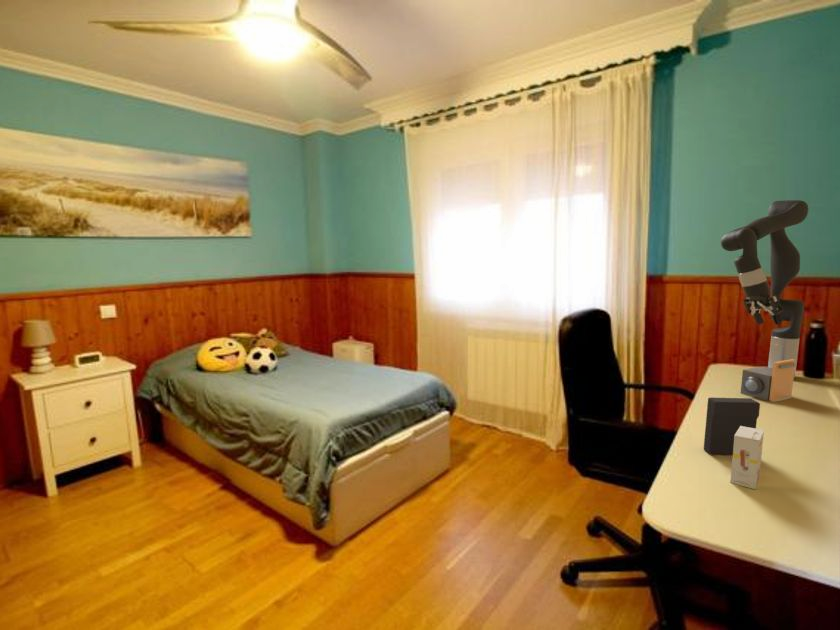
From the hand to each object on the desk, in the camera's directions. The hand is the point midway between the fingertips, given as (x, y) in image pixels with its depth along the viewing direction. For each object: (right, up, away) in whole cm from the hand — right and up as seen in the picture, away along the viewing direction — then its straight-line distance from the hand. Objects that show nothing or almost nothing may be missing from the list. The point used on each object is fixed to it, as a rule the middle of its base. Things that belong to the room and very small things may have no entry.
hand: (769, 324), depth 157 cm
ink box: (-50, -36, -54) cm, 82 cm away
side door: (+2, -27, -3) cm, 27 cm away
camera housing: (-1, -27, +2) cm, 27 cm away
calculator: (-44, -34, -41) cm, 69 cm away
